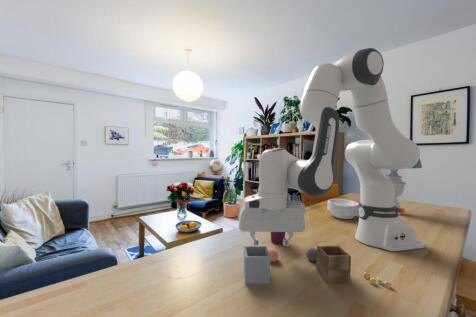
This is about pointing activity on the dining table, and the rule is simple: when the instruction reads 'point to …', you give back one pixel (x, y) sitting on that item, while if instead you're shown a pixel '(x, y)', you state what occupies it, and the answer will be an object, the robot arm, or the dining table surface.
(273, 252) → the terracotta ball
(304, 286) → the dining table surface
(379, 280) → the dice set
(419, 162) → the table lamp
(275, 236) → the cup
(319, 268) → the walnut tube
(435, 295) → the dining table surface
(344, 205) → the white purple floral bowl
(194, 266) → the dining table surface
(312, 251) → the charcoal ball
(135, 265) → the dining table surface
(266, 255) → the grey square open box
